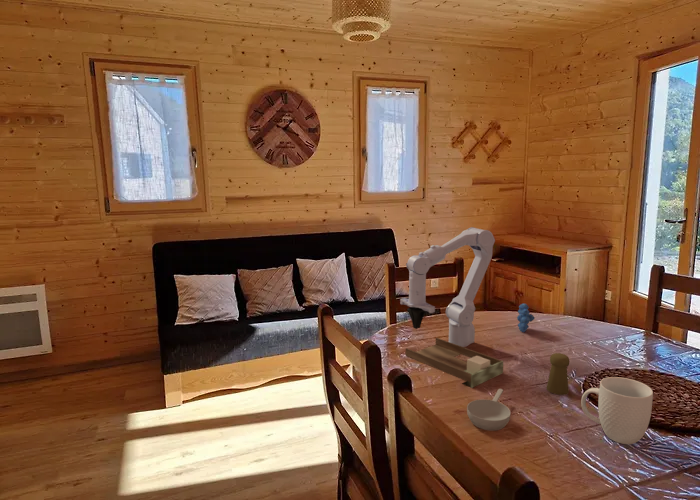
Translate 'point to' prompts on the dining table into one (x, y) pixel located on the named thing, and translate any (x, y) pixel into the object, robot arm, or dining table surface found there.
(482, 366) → the cream block
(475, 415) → the saucepan
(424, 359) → the olive long flat tray
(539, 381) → the dining table surface
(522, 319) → the grapes
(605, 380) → the mug
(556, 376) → the cork
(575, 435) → the dining table surface
